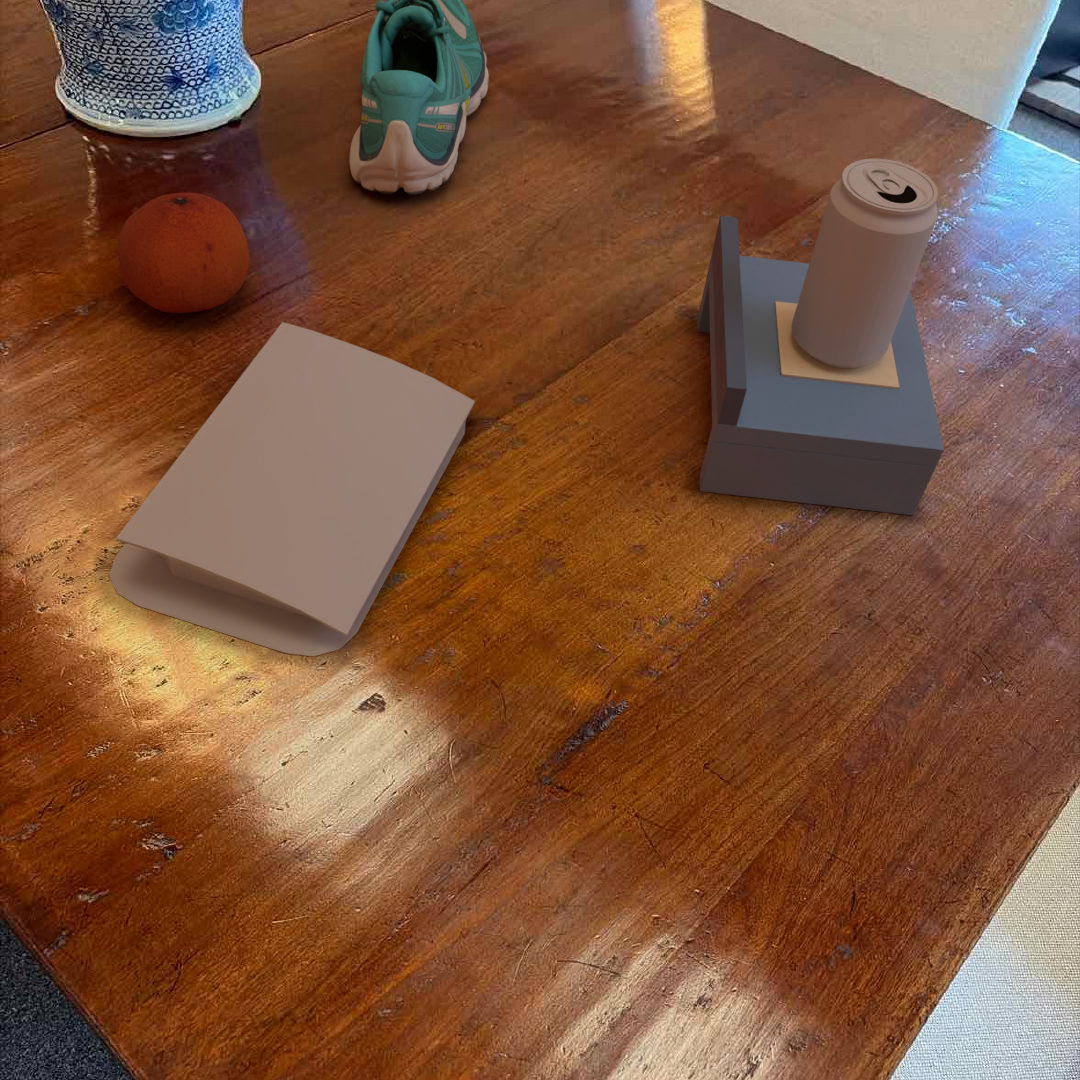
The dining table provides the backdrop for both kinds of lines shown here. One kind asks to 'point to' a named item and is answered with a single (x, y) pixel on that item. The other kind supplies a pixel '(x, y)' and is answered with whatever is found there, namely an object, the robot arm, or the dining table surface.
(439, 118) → the running shoe
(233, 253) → the fruit
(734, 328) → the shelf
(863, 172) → the beverage can
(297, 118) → the dining table surface
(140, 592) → the book
